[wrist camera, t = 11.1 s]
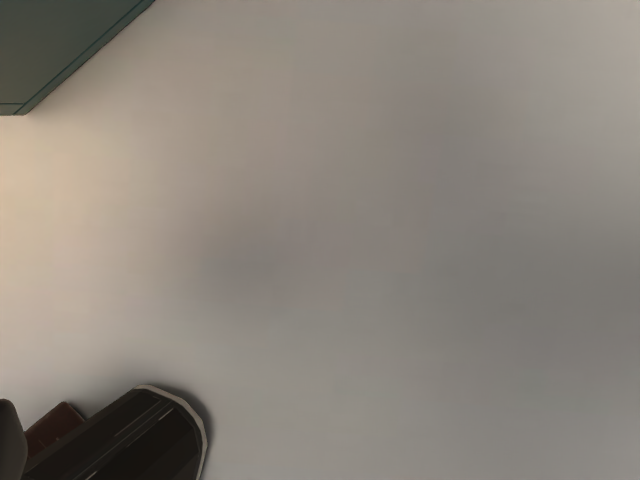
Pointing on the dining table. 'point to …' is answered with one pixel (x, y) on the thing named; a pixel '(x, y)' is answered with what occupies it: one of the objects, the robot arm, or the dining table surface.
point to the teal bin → (52, 43)
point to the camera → (128, 442)
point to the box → (51, 428)
